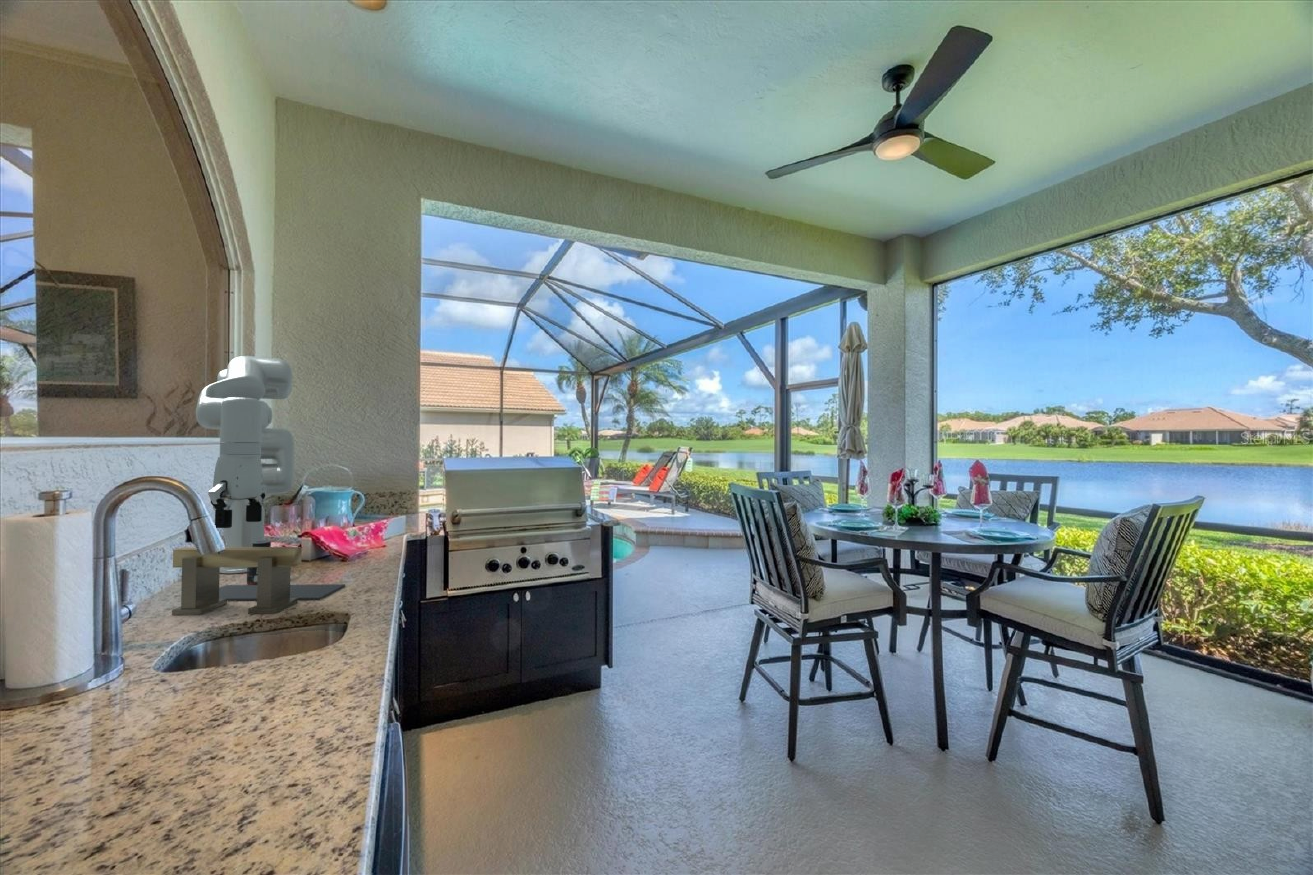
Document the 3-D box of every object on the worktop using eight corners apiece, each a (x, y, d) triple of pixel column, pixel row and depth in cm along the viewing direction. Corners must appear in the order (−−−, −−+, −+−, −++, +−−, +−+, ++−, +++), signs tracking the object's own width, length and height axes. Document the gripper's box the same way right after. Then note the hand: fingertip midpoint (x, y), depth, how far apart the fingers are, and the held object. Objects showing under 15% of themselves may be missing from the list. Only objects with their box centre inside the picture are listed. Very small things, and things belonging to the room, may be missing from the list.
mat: (226, 587, 137) (226, 585, 137) (344, 586, 139) (344, 584, 139) (189, 601, 125) (189, 598, 125) (319, 600, 127) (319, 597, 127)
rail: (183, 564, 121) (184, 547, 121) (301, 563, 123) (301, 547, 123) (172, 567, 118) (173, 549, 118) (293, 567, 120) (293, 549, 120)
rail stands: (200, 603, 123) (201, 551, 123) (297, 602, 125) (298, 551, 125) (171, 615, 115) (173, 558, 115) (276, 614, 117) (277, 558, 117)
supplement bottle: (262, 586, 138) (263, 544, 138) (240, 586, 138) (241, 543, 139) (279, 580, 144) (280, 539, 144) (258, 580, 144) (259, 539, 145)
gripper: (249, 450, 129) (248, 519, 128) (193, 450, 111) (191, 530, 111) (281, 450, 129) (280, 519, 129) (230, 450, 112) (228, 530, 112)
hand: (239, 524), depth 120 cm, fingers open, 9 cm apart
